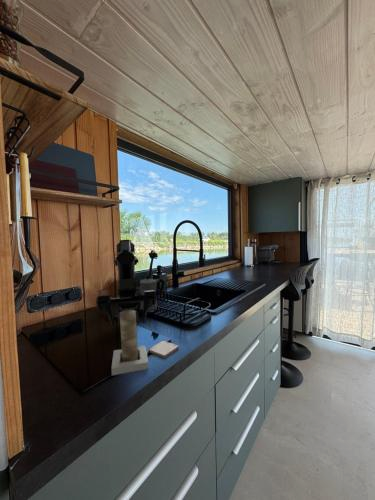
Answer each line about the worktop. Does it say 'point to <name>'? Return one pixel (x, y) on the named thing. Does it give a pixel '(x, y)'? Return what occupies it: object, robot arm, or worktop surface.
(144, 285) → the coffeepot
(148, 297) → the robot arm
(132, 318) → the peg
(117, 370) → the holder
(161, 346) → the tile
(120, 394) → the worktop surface
